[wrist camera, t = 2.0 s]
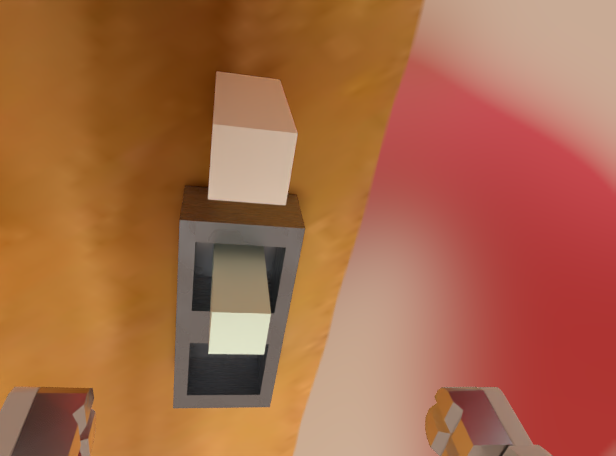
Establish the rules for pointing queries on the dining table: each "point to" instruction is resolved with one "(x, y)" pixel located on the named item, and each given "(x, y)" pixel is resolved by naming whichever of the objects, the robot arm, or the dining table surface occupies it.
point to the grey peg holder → (197, 297)
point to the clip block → (251, 140)
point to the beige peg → (239, 300)
